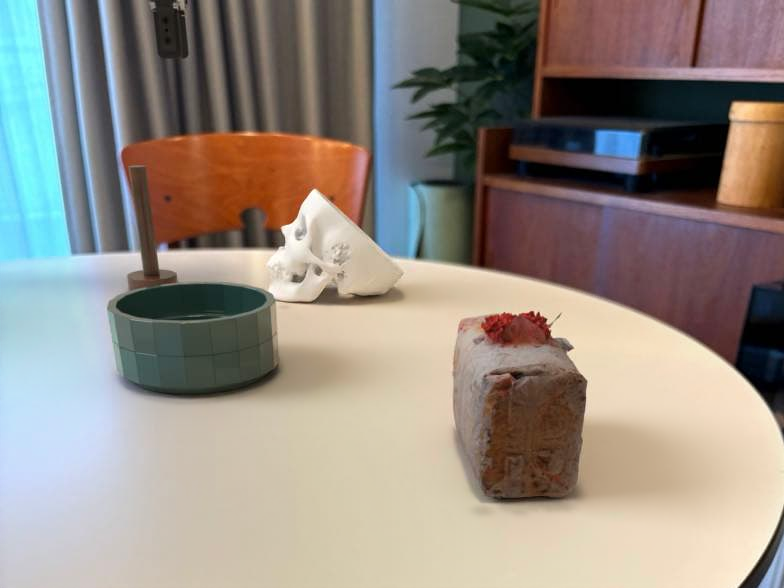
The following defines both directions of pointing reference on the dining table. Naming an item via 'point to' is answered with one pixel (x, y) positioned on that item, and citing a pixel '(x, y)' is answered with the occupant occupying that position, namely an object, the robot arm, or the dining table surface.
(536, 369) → the food item
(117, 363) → the mixing bowl
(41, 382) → the dining table surface
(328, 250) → the skull bowl
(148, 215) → the brown masher
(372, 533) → the dining table surface
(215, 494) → the dining table surface
